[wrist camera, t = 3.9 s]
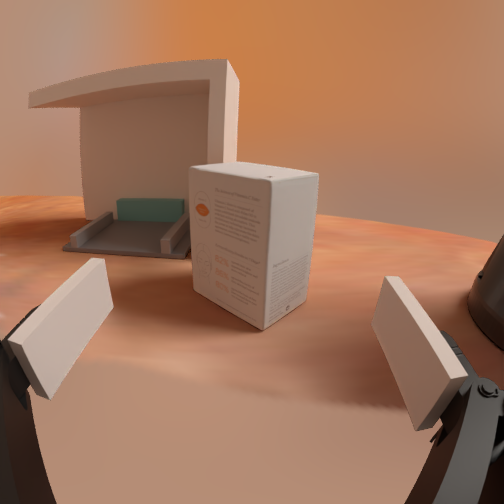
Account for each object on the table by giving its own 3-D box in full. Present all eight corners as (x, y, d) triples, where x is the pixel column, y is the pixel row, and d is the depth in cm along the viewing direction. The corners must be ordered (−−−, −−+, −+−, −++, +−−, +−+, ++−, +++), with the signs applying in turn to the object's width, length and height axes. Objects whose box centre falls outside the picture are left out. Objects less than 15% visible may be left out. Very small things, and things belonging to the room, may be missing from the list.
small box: (306, 303, 24) (323, 173, 20) (262, 334, 20) (273, 179, 16) (237, 270, 29) (240, 160, 25) (191, 290, 25) (187, 165, 21)
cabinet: (222, 261, 31) (227, 59, 23) (41, 249, 31) (29, 92, 23) (234, 221, 43) (239, 81, 35) (90, 217, 43) (85, 95, 35)
